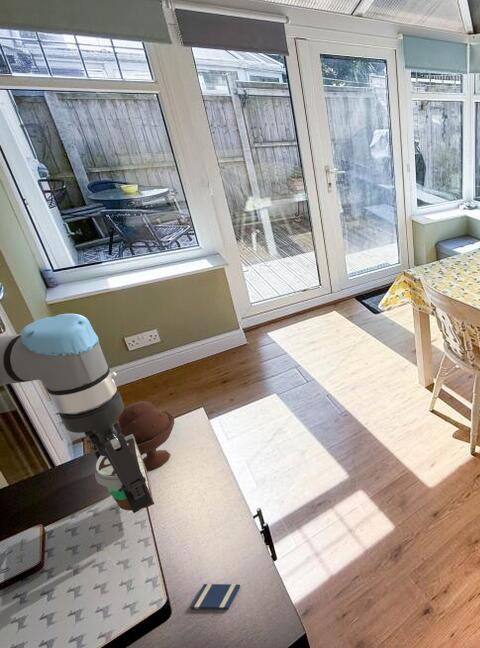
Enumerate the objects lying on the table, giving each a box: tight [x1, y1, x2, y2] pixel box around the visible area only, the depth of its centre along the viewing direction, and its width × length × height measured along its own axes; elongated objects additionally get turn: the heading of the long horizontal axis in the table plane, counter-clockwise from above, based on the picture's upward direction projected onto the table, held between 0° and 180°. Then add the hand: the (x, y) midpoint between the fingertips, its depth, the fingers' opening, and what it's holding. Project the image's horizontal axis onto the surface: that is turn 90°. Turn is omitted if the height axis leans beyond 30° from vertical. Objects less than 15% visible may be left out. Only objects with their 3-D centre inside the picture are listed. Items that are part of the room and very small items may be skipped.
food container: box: [94, 434, 155, 512], centre depth 78 cm, size 12×6×10 cm, turn 45°
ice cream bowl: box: [117, 400, 175, 472], centre depth 89 cm, size 11×11×15 cm
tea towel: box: [190, 583, 241, 610], centre depth 68 cm, size 6×3×1 cm, turn 91°
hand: (128, 489), depth 79 cm, fingers closed on food container, 12 cm apart
